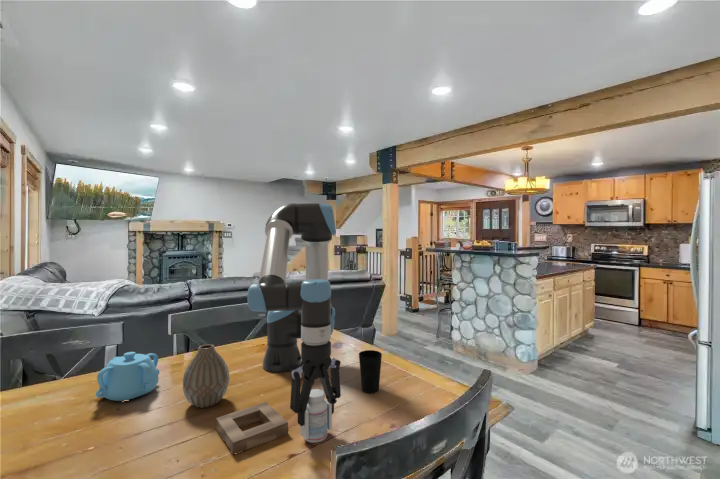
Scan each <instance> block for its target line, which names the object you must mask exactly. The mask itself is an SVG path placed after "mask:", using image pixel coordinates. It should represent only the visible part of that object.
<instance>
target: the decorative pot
mask: <svg viewBox="0 0 720 479" xmlns="http://www.w3.org/2000/svg"><path fill="white" fill-rule="evenodd" d="M151 357H153V360H152V358H151ZM158 363H159V356H158V355H157V354H156V353H153V352H150V353H147V354H144V353H136V351H128V352H125V353H123V356H114V357H112V358H111V359H110V360H109V362H108V363H107V365H106V366H105V367H103V368H102V369H100V371H99V372H97V376H96V379H97V384H98V385H99V386H98V387H99V388H98V389H97V390H96V392H95V396H96V398H98V399H101V398H105V399H107V400H110V401H115V402H116V401H117V402H121V401H124V400H130V399H131V400H133V399H135V398H138V397H141V396H144V395H146V394H149V393H150V392H152V391H153V390H154V389H155V388H156V387H157V385H158V383H159V382H160V381H159V380H160V378H159V375H160V370H159V369H158V368H157V366H158ZM148 392H149V393H148ZM131 400H130V401H131Z"/></svg>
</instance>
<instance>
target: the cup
mask: <svg viewBox="0 0 720 479" xmlns="http://www.w3.org/2000/svg"><path fill="white" fill-rule="evenodd" d="M382 355H383V354H382V352H381V351H378V350H373V349H369V350H367V349H366V350H362V351H360V352H359V353H358V359H359V360H358V361H359V372H360V380H361V390H362V392H363V393H366V394H368V395H369V394H370V395H371V394H377V393H378V392H379V389H380V379H381V371H382V370H381V367H382V357H383V356H382Z"/></svg>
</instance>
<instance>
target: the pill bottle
mask: <svg viewBox="0 0 720 479" xmlns="http://www.w3.org/2000/svg"><path fill="white" fill-rule="evenodd" d="M325 400H326V396H325V393H324V389H319V388H315V389H313V388H312V389H311V392H310V396H309V400H308V404H307V408H306V411H308V412H309V439H307V440H306V439H305V438H303V439H304V440H305V441H306V442H307V443H312V444H313V443H315V444H316V443H320V442H323V441H324V440H326V439H327V437H328V431H329V429H328V418H327V402H326V401H325Z"/></svg>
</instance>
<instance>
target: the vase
mask: <svg viewBox="0 0 720 479" xmlns="http://www.w3.org/2000/svg"><path fill="white" fill-rule="evenodd" d="M229 384H230V371H229V367H228V364H227V362H226V360H225V359H224V358H223V356H221V355H220V353H218V351H217V350H216V348H215V345H214V344H208V343H206V344H202V345H199V346H198V349H197V352H196V353H195V355H193V358H191V360H190V361H189V363H188V365H187V367H186V368H185V371H184V373H183V379H182V391H183V394H184V398H185V399H186V400H187V401H188V403H190V404H191V405H192V406H194V407H196V408H198V407H200V408H199V409H204V407H206V408H210V407H213V406H215V405H216V404H218V403H219V402H220V401H221V400H222V399H223V397H224V396H225V395H226V392H227V390H228V388H229ZM212 405H213V406H212ZM209 406H210V407H209Z"/></svg>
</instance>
